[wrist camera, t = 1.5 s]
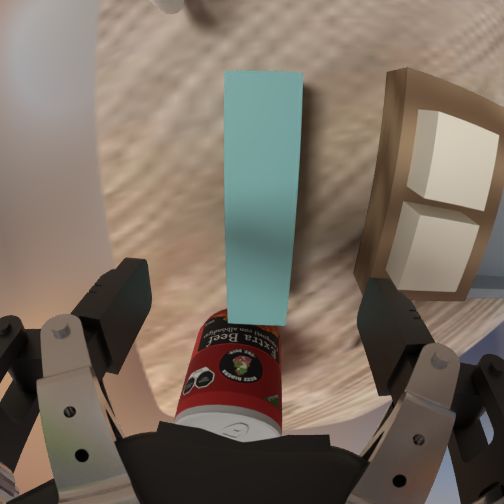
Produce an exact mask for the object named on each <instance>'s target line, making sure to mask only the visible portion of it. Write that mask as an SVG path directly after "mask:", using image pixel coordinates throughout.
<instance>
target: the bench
mask: <svg viewBox="0 0 504 504" xmlns="http://www.w3.org/2000/svg"><path fill="white" fill-rule="evenodd" d="M418 109H420V110H431V111H439V112H442V113H445V114H448V115H451V116H453V117H456V118H459V119H462V120H464V121H467V122H469V123H472V124H474V125H477V126H479V127H482V128H484V129H486V130H489V131H491V132H493V133H495V134H497V135H499V141H498V148H497V154H496V160H495V165H494V170H493V175H492V180H491V185H490V189H489V193H488V197H487V201H486V205H485V209H484V211H481V210H477V209H473V208H468V207H464V206H459V205H455V204H450V203H445V202H440V201H435V200H430V199H425V198H423V197H422V196H420V195H419V194H417V193H416V192H414V191H413V190H411V189H410V188H408V187H407V181H408V176H409V171H410V165H411V159H412V153H413V147H414V140H415V133H416V126H417V118H418ZM503 188H504V107H502V106H500V105H498V104H496V103H494V102H492V101H490V100H488V99H486V98H484V97H482V96H480V95H478V94H476V93H473V92H471V91H469V90H467V89H464V88H462V87H460V86H457V85H455V84H453V83H450V82H448V81H445V80H442V79H440V78H437V77H434V76H432V75H429V74H426V73H423V72H420V71H417V70H414V69H411V68H408V67H407V68H402V69H398V70H394V71H390V72H387V76H386V89H385V100H384V109H383V118H382V127H381V135H380V142H379V149H378V156H377V162H376V169H375V175H374V180H373V186H372V191H371V197H370V202H369V207H368V212H367V217H366V222H365V226H364V231H363V235H362V240H361V244H360V248H359V253H358V257H357V261H356V265H355V269H354V273H353V274H354V276H355V279H356V281H357V283H358V286H359V288H360V290H361V293H362V295H364V291H365V288H366V284H367V282H368V280H369V278H371V277H373V278H389V279H391V278H390V276H389V274H388V273H387V271H386V266H387V263H388V260H389V256H390V253H391V249H392V245H393V242H394V238H395V234H396V230H397V226H398V222H399V218H400V214H401V209H402V205H403V201H405V202H411V203H417V204H423V205H428V206H434V207H439V208H444V209H449V210H454V211H459V212H462V213H463V214H464V215H466V216H467V217H469V218H470V219H471V220H473V221H474V222H475V223H477V224H478V225H479V230H478V233H477V236H476V239H475V242H474V245H473V248H472V251H471V254H470V257H469V259H468V262H467V265H466V267H465V270H464V273H463V275H462V278H461V280H460V283H459V285H458V287H457V290H456V292H441V291H416V290H397V291H398V292H401V293H403V294H404V295H405V296H406V297H407V298H408V299H410V300H422V301H465V300H466V297H467V295H468V293H469V291H470V288H471V286H472V284H473V281H474V279H475V276H476V274H477V271H478V269H479V266H480V264H481V261H482V258H483V256H484V253H485V250H486V247H487V244H488V241H489V238H490V235H491V232H492V229H493V226H494V222H495V219H496V216H497V212H498V208H499V205H500V201H501V197H502V193H503ZM391 281H392V279H391ZM392 282H393V281H392ZM393 284H394V283H393ZM394 286H395V284H394ZM395 287H396V286H395ZM396 289H397V288H396Z"/></svg>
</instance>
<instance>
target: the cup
mask: <svg viewBox="0 0 504 504" xmlns="http://www.w3.org/2000/svg"><path fill="white" fill-rule="evenodd" d="M150 1H151V2H152V3H153V4H154V5H155V6H156V7H157V8H159V9H160V10H162V11H163V12H165V13H168V14H174V13H177V12H179V11H180V10H181V9H182V8H183V5H184V0H150Z"/></svg>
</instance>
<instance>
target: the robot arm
mask: <svg viewBox="0 0 504 504" xmlns="http://www.w3.org/2000/svg"><path fill="white" fill-rule="evenodd" d="M151 303H152V293H151V286H150V279H149V271H148V264H147V261H146V260H145V259H138V258H125V259H124V260H123V261H122V262H121V263H120V264H119V266H118V267H117V268H116V269H112V270H110V271H109V272H107V273H105V274H104V275H102V276H101V277H100V278H99V279H98V280H97V282H96V283H95V285H94V286H92V288H91V289H90V290H89V293H87V294H86V295H85V296H84V297H83V299H82V300H81V301H80V302H79V304H78V305H77V306H76V307H75V309H74V310H73V311H72V312H71V314H62V315H57V316H55V317H52V318H51V319H49V320H48V321H47V322H46V323H45V324H44V325H43V326H42V328H41V329H24V326H23V324H22V322H21V320H20V319H19V317H17V316H13V315H9V316H4V317H2V318H0V383H1V381H2V379H3V377H4V376H5V374H6V373H7V371H8V372H9V374H10V375H11V377H12V378H13V381H12V383H11V384H10V386H9V388H8V389H7V391H6V393H5V395H4V397H3V398H2V400H1V402H0V504H424V503H425V501H426V499H427V497H428V495H429V493H430V490H431V488H432V486H433V483H434V481H435V478H436V476H437V473H438V470H439V468H440V465H441V463H442V460H443V457H444V454H445V451H446V448H447V445H448V449H449V452H450V456H451V460H452V464H453V469H454V473H455V477H456V482H457V486H458V491H459V496H460V502H461V504H504V360H503V359H502V358H500V357H498V356H496V355H493V354H486V355H484V356H483V357H482V358H481V359H480V361H479V362H478V364H477V365H471V364H465V363H460V361H459V358H458V356H457V355H456V353H455V352H454V351H453V350H451V349H450V348H449V347H447V346H445V345H442V344H439V343H435V341H434V339H433V338H432V336H431V334H430V332H429V331H428V329H427V327H426V325H425V324H424V322H423V320H422V319H421V317H420V315H419V313H418V312H416V308H415V307H414V305H413V303H412V302H411V300H410V299H408V298H407V297H406V296H405V295H404V294H403V293H401V292H398V291H397V289H396V287H395V286H394V284H393V282H392V281H391V279H389V278H373V277H371V278H369V280H368V282H367V284H366V288H365V291H364V295H363V298H362V301H361V305H360V308H359V311H358V316H357V327H358V330H359V333H360V336H361V340H362V343H363V346H364V349H365V352H366V355H367V358H368V361H369V365H370V368H371V371H372V375H373V378H374V381H375V385H376V388H377V392H378V395H379V396H388V395H391V397H392V402H391V403H390V405H389V407H388V408H387V410H386V412H385V414H384V416H383V418H382V419H381V421H380V423H379V425H378V427H377V428H376V430H375V432H374V434H373V435H372V437H371V439H370V440H369V442H368V444H367V445H366V447H365V448H364V449H363V451H362V452H361V454H360V455H359V456H358V455H356V454H354V453H353V452H350V451H348V450H345V449H341V448H339V447H335V446H330V437H329V435H286V436H281V437H275V438H270V439H264V440H257V441H251V442H240V441H237V440H234V439H230V438H227V437H224V436H221V435H218V434H215V433H213V432H210V431H207V430H204V429H202V428H197V427H190V426H184V425H178V424H172V423H167V422H162V421H160V422H159V425H158V428H157V432H147V433H140V434H135V435H132V436H129V437H125V435H124V433H123V431H122V429H121V426H120V424H119V421H118V419H117V417H116V414H115V411H114V409H113V406H112V403H111V400H110V397H109V395H108V392H107V389H106V386H105V383H104V381H103V377H104V375H105V373H106V372H109V373H113V374H117V375H118V374H119V371H120V369H121V367H122V365H123V363H124V361H125V359H126V357H127V355H128V353H129V351H130V349H131V347H132V345H133V343H134V341H135V339H136V337H137V335H138V333H139V331H140V329H141V327H142V325H143V323H144V321H145V319H146V317H147V315H148V313H149V311H150V308H151ZM485 411H487V414H488V416H489V419H490V421H491V424H492V426H493V430H494V436H493V440H492V442H491V443H490V444H489V445H488V442H487V439H486V436H485V433H484V430H483V428H482V425H481V422H480V419H479V418H480V417H481V416H482V415H483V413H484V412H485ZM39 412H40V416H41V422H42V428H43V433H44V438H45V443H46V448H47V452H48V457H49V461H50V465H51V469H52V472H53V476H54V478H53V479H51V480H49V481H48V482H46V483H44V484H42V485H40V486H38V487H36V488H34V489H32V490H30V491H28V492H26V493H24V494H22V495H20V496H19V490H18V488H17V486H15V479H14V476H13V473H14V471H15V468H16V465H17V463H18V460H19V458H20V455H21V453H22V450H23V448H24V445H25V443H26V441H27V438H28V436H29V434H30V431H31V429H32V427H33V425H34V423H35V421H36V418H37V416H38V414H39Z"/></svg>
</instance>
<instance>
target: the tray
mask: <svg viewBox="0 0 504 504" xmlns="http://www.w3.org/2000/svg"><path fill="white" fill-rule="evenodd" d="M466 298H504V188H503V193H502V197H501V201H500V205H499V208H498V212H497V216H496V219H495V222H494V226H493V229H492V232H491V235H490V238H489V241H488V244H487V247H486V250H485V253H484V256H483V258H482V261H481V264H480V266H479V269H478V271H477V274H476V276H475V279H474V281H473V284H472V286H471V288H470V291H469V293H468V295H467V297H466Z"/></svg>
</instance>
